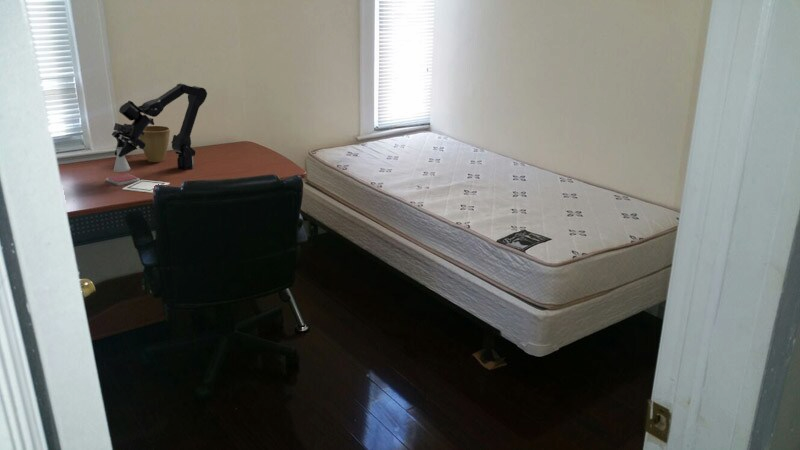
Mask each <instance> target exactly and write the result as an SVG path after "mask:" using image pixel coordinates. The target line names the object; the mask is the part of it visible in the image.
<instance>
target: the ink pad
mask: <svg viewBox="0 0 800 450" xmlns="http://www.w3.org/2000/svg"><path fill="white" fill-rule="evenodd" d="M105 181H106V182H108V183H110V184H113V185H116V186H124V185H127V184H128V185H129V184H133V183H135V182H138V181H140V178H139V177H138V176H137V177H136V176H135V175H131V174H129V173H125V174H119V175H114V176H109V177H106V178H105Z"/></svg>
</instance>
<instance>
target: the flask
mask: <svg viewBox="0 0 800 450" xmlns="http://www.w3.org/2000/svg"><path fill="white" fill-rule="evenodd" d="M116 147H117V146H116ZM116 147H115V151H116V150H117V156H116V158H115V162H114V167H113V172H116V173H117V172H119V173H123V172H129V171H131V170H132V168H131V167H130V165H129V163H128V161H127V159H126V156H125V155H124V156H122V157H119V154H120V152H121V150H122V148H123V147H117V148H116Z"/></svg>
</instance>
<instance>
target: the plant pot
mask: <svg viewBox="0 0 800 450" xmlns="http://www.w3.org/2000/svg"><path fill="white" fill-rule="evenodd" d="M170 132H171V127H169V126H164V125H148V126H147V127H146V129H145V130H144V131H143V133H144V135H141V136H140V137H139V139H140V140H142V141H143V142H144V143H145V144H146V147H145V148H144V150H143V153H144V155H145V157H146V160H147V161H148V162H149V163H162V162H164V161H165V158H166V156H167V152H168V147H169V141H170V135H171V133H170Z"/></svg>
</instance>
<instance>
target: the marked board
mask: <svg viewBox="0 0 800 450" xmlns="http://www.w3.org/2000/svg"><path fill="white" fill-rule="evenodd" d="M158 184H159V185H167V186H169V185H170V184H171V183H170V182H165V181H158V180H157V181H156V180H147V179H141V180H140V181H138V182H133V183H130V184H128V185H127V186H124V187H121V188H122V191H132V192H140V193H148V194H149V193H150V194H152V193H154V192H153V189H154V186H155V185H158Z"/></svg>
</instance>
